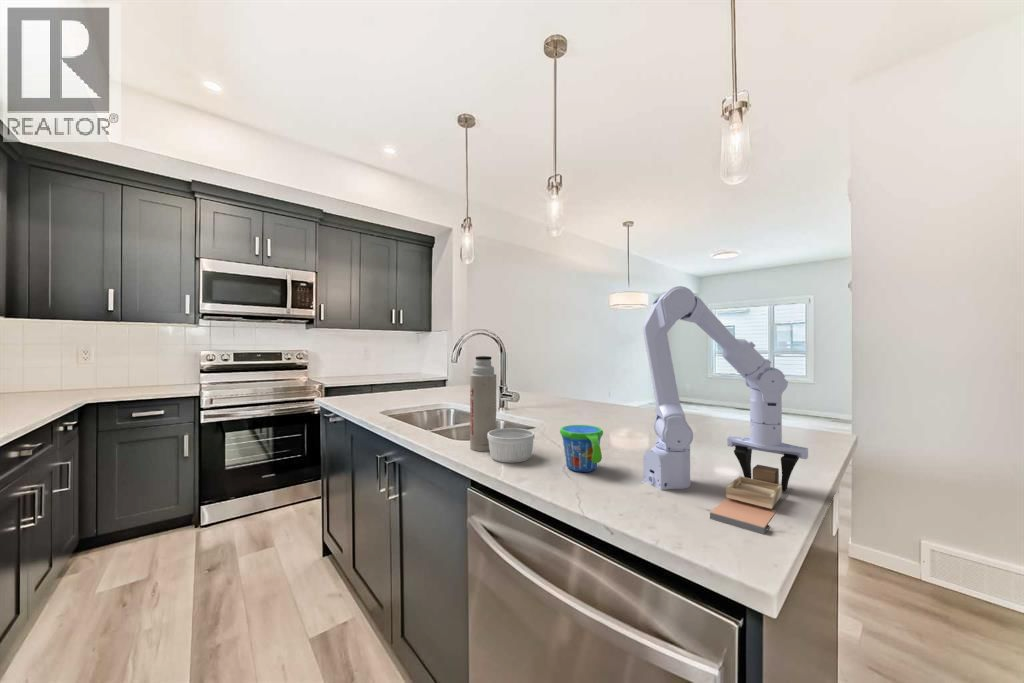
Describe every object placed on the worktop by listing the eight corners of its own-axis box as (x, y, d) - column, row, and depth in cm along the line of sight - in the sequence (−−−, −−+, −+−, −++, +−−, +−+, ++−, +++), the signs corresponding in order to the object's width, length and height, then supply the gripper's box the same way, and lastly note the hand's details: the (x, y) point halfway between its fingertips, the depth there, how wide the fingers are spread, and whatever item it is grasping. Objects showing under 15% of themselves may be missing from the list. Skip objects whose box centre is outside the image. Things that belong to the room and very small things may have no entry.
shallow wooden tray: (771, 511, 72) (771, 498, 72) (726, 499, 77) (726, 487, 77) (782, 497, 78) (782, 485, 78) (739, 487, 83) (739, 476, 83)
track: (763, 534, 66) (763, 528, 66) (709, 518, 72) (709, 512, 72) (792, 493, 83) (792, 488, 83) (747, 483, 89) (747, 478, 89)
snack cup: (552, 460, 107) (552, 423, 107) (588, 458, 109) (588, 421, 109) (573, 480, 91) (573, 436, 92) (614, 477, 94) (614, 434, 94)
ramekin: (512, 448, 119) (512, 425, 119) (544, 457, 110) (544, 432, 110) (478, 457, 110) (478, 432, 110) (509, 468, 101) (509, 441, 101)
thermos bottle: (469, 451, 116) (469, 356, 116) (470, 444, 123) (470, 355, 124) (496, 450, 116) (496, 356, 116) (495, 444, 124) (495, 355, 124)
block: (774, 492, 81) (774, 472, 82) (752, 487, 84) (752, 468, 84) (778, 487, 84) (778, 468, 84) (757, 482, 87) (757, 464, 87)
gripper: (810, 424, 82) (810, 489, 82) (733, 415, 92) (733, 472, 92) (804, 429, 77) (805, 498, 77) (724, 419, 87) (724, 480, 87)
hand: (765, 485), depth 84 cm, fingers open, 6 cm apart
